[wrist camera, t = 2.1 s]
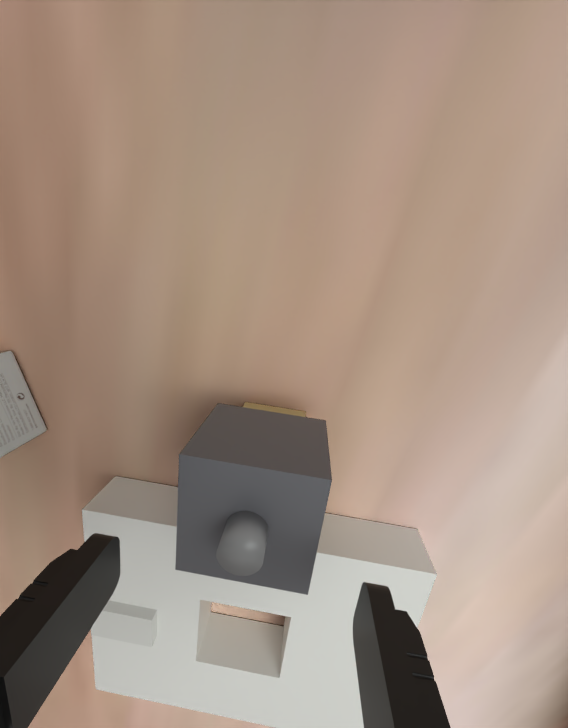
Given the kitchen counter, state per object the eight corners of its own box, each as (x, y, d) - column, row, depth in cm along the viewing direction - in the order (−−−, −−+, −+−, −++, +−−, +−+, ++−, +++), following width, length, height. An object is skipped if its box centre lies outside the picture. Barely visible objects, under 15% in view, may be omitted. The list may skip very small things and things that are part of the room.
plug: (231, 385, 17) (162, 476, 9) (323, 399, 17) (334, 505, 9) (224, 464, 19) (160, 600, 11) (309, 478, 18) (307, 629, 10)
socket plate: (115, 476, 20) (73, 517, 16) (417, 529, 19) (441, 585, 15) (121, 640, 24) (89, 700, 21) (365, 690, 23) (374, 762, 20)
